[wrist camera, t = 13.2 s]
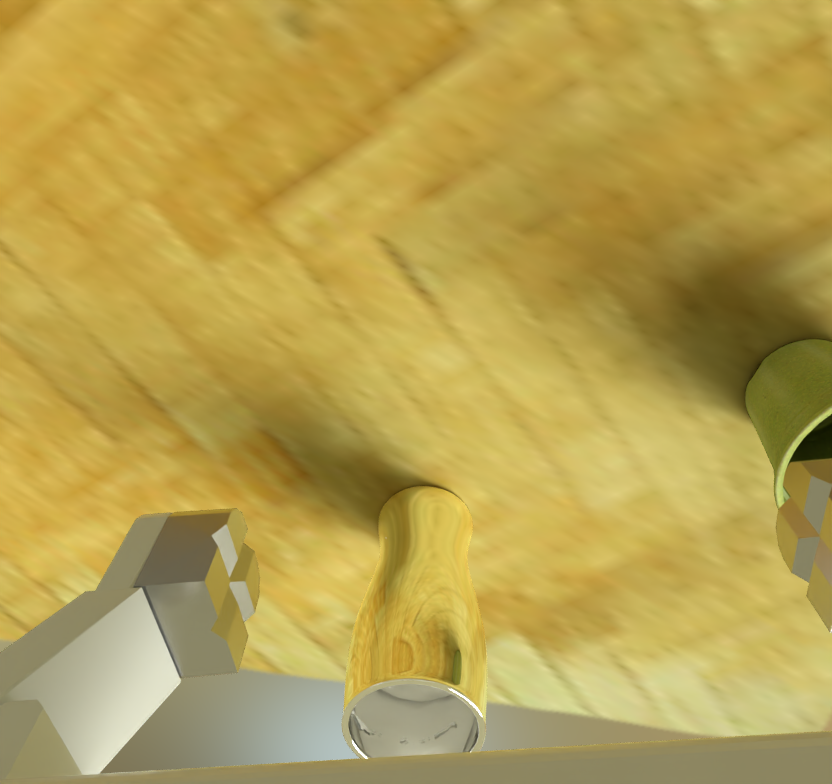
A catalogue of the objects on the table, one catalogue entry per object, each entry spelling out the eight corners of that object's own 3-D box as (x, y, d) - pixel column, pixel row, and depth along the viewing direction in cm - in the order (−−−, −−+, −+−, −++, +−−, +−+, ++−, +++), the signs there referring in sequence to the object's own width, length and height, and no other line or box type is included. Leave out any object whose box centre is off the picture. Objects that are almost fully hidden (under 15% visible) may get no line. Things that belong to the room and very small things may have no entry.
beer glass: (468, 470, 43) (474, 667, 29) (488, 557, 46) (503, 772, 32) (359, 488, 44) (317, 686, 30) (386, 573, 47) (359, 787, 33)
